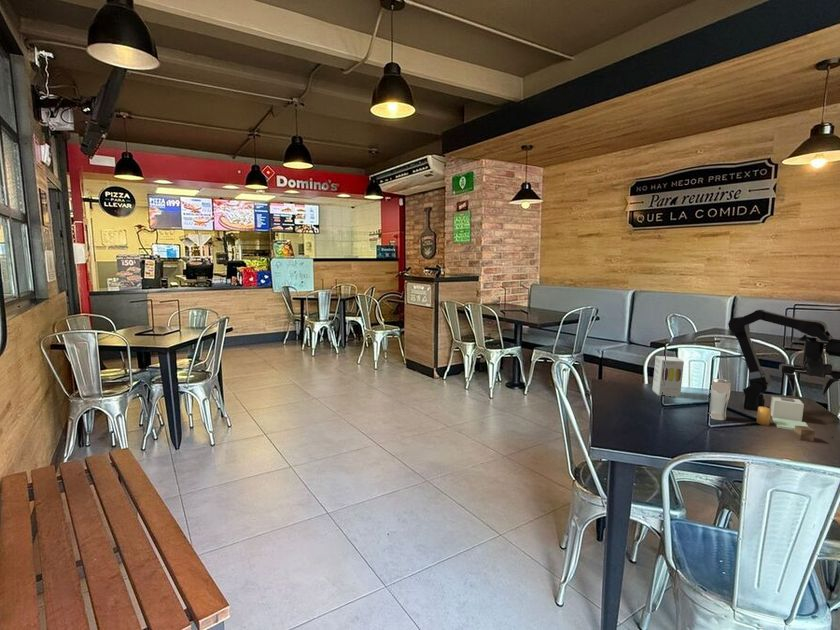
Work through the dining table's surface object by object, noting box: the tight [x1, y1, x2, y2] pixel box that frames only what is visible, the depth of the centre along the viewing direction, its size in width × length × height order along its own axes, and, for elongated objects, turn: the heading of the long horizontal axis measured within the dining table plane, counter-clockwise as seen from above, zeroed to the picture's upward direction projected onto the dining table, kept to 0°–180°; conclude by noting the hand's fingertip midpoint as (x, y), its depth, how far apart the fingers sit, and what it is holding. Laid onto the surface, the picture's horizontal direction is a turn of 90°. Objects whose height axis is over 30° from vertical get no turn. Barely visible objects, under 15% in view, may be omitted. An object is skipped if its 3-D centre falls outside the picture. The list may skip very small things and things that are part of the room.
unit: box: [769, 395, 805, 422], centre depth 181 cm, size 9×7×7 cm
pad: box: [771, 417, 810, 431], centre depth 172 cm, size 10×10×1 cm
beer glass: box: [708, 378, 732, 421], centre depth 179 cm, size 7×7×15 cm
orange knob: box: [756, 406, 772, 426], centre depth 174 cm, size 4×4×6 cm
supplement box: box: [652, 355, 685, 398], centre depth 209 cm, size 10×9×17 cm
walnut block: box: [793, 425, 816, 443], centre depth 160 cm, size 4×4×4 cm
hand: (807, 392), depth 177 cm, fingers open, 9 cm apart
